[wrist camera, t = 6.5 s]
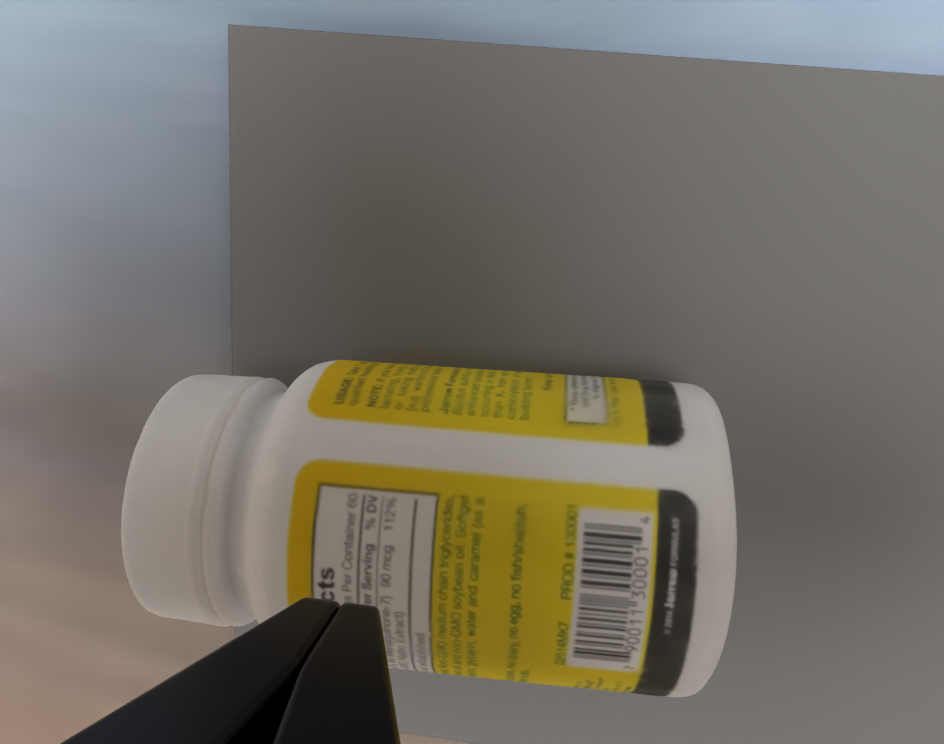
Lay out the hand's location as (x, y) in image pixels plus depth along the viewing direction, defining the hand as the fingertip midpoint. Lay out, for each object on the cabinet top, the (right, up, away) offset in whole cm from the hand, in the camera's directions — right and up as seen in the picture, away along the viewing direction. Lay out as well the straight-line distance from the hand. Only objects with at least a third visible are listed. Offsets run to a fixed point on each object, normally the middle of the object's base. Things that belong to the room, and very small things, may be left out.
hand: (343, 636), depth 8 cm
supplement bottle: (+5, 0, +3) cm, 6 cm away
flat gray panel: (+7, +1, +6) cm, 9 cm away
